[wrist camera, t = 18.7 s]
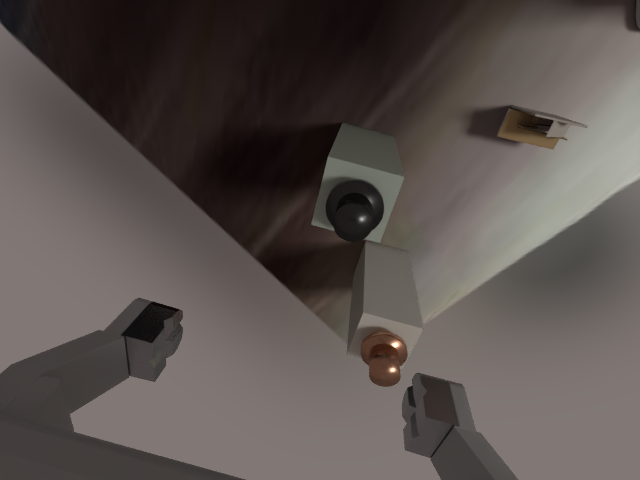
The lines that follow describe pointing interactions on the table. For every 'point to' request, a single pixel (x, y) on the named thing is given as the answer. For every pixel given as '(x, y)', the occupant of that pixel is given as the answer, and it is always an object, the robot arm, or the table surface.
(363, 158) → the block
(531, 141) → the architectural model
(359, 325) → the block
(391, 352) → the terracotta plunger
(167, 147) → the table surface
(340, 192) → the black plunger
